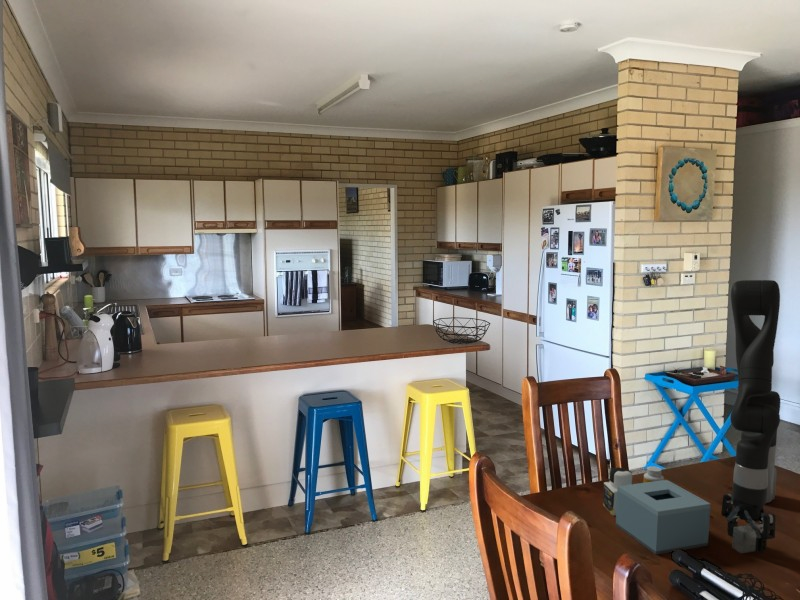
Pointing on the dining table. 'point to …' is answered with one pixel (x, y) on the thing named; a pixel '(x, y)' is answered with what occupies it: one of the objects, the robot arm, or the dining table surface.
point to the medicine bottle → (615, 487)
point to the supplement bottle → (653, 474)
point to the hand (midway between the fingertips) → (745, 543)
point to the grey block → (744, 539)
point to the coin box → (663, 516)
